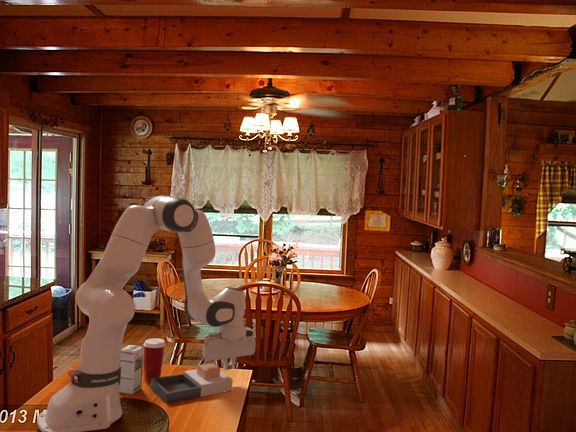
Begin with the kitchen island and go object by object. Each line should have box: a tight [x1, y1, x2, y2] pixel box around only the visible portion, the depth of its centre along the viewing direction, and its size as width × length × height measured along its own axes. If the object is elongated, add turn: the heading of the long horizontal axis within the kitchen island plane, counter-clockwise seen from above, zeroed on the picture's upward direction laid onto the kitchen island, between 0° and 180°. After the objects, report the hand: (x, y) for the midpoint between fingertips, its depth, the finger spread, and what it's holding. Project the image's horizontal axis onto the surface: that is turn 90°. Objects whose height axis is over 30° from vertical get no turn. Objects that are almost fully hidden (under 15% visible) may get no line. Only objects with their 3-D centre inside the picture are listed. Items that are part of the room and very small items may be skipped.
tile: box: [196, 362, 221, 379], centre depth 165 cm, size 6×6×3 cm
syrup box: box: [119, 344, 144, 395], centre depth 157 cm, size 6×6×14 cm
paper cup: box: [142, 337, 166, 383], centre depth 168 cm, size 8×8×14 cm
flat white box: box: [183, 368, 234, 398], centre depth 166 cm, size 12×14×4 cm
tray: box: [150, 373, 201, 404], centre depth 158 cm, size 12×14×3 cm
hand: (228, 369), depth 170 cm, fingers closed
